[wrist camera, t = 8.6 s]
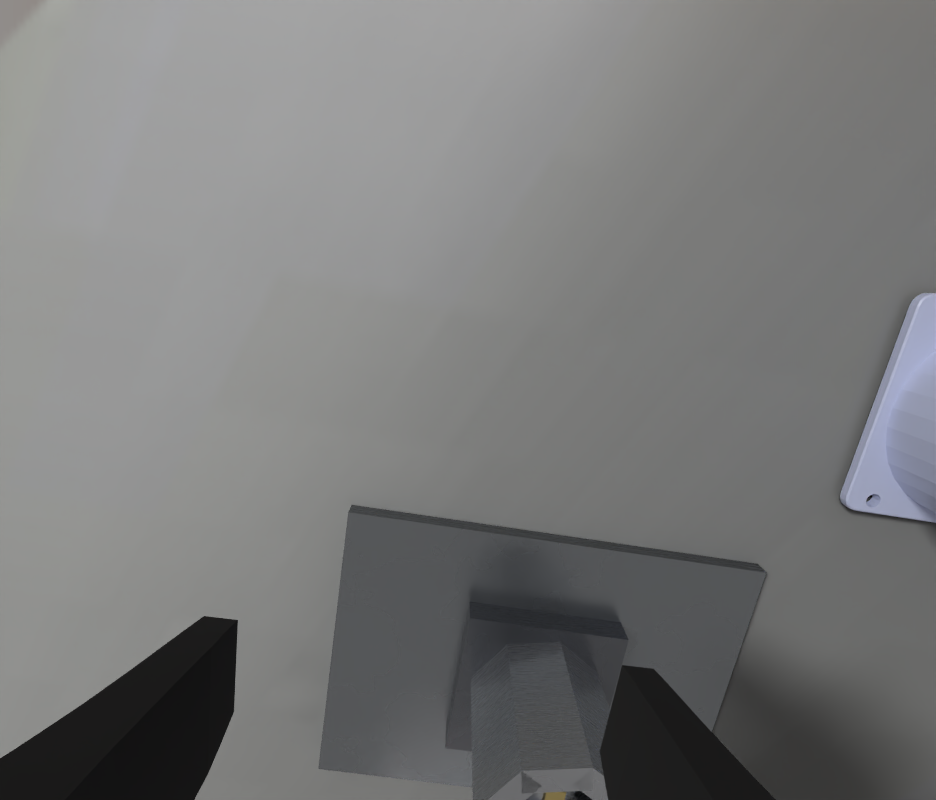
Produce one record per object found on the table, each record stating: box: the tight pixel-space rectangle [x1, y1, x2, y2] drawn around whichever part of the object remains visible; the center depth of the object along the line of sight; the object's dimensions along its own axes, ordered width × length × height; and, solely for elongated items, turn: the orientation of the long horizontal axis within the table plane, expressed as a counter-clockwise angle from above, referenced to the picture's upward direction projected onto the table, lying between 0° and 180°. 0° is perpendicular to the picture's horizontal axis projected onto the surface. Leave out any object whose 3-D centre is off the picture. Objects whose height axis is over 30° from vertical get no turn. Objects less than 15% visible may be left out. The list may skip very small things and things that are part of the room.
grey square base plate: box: [319, 505, 766, 800], centre depth 18 cm, size 16×12×6 cm
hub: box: [471, 642, 610, 800], centre depth 17 cm, size 5×5×5 cm
